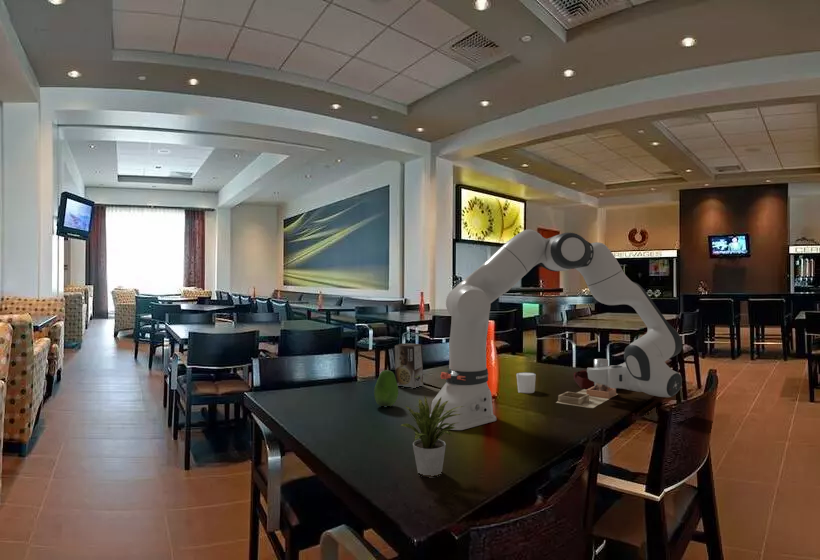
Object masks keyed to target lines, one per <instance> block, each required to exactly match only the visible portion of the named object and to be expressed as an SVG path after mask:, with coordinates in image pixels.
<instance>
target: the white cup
mask: <svg viewBox="0 0 820 560" xmlns="http://www.w3.org/2000/svg"><path fill="white" fill-rule="evenodd" d="M515 374H516V384H517V392H518V393H519V394H520V393H522V394H533V393H535V390H536V380H537V379H536V378H537V377H536V376H537V375H536V373H534V372H527V371H526V372H525V371H523V372H517V373H515Z"/></svg>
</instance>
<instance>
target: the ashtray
mask: <svg viewBox="0 0 820 560" xmlns="http://www.w3.org/2000/svg"><path fill="white" fill-rule="evenodd" d="M572 375H573V376H572V377H573V381H574V382H575V384H576V385H577V386H578V387H579V388H580V389H581V390H584V389H585V390H587V389H589V388H591V387H593V386H594V381H591V380H589V379H588V373H587V369H585V370H579V371H574V372H573V374H572ZM608 388H609V387H608ZM615 389H616V390H621V388H615Z"/></svg>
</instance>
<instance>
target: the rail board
mask: <svg viewBox="0 0 820 560" xmlns="http://www.w3.org/2000/svg"><path fill="white" fill-rule="evenodd" d="M617 395H619V394H618V393H616V395H614V396H613V397H611V398H609V399H608V398H601V397H594V396H589V394H587V389H581V390H579V391H576V392H574V391H573V392H572V391H565V392H563V393H561V394H558V395H557V401H556V402H555V404H562V405H569V406H573V407H575V406H576V407H582V408H587V409H594V408H596V407H597V406H599V405H601V404H603V403H605V402H607V401H608V400H610V399H612V398H614V397H616V396H617Z"/></svg>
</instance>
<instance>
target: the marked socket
mask: <svg viewBox="0 0 820 560" xmlns="http://www.w3.org/2000/svg"><path fill="white" fill-rule="evenodd" d="M586 390H587V394H589V396H594V397H601V398H608V399H609V398H610V399H612V398H614V397H615V396H614V395H616V394H617V389H615V388H608V392H604V391H597V390H594V386H593V387H591V388H589V389H586ZM613 396H614V397H613ZM616 396H617V395H616ZM611 397H612V398H611ZM610 399H609V400H610Z"/></svg>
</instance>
